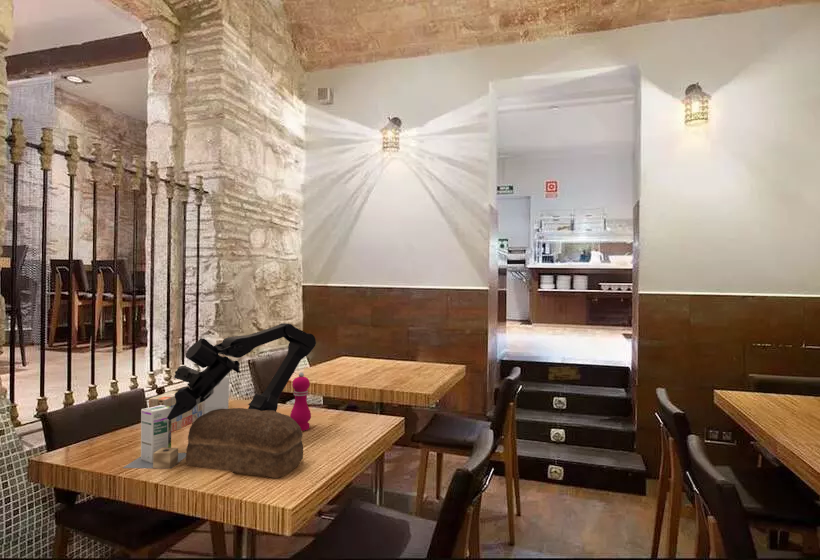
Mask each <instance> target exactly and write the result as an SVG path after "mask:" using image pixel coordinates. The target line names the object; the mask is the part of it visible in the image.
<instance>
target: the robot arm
mask: <svg viewBox="0 0 820 560" xmlns="http://www.w3.org/2000/svg"><path fill="white" fill-rule="evenodd" d="M283 338H284V339H285V340H286V341H288V342H289V343H288V347H287V348H288V349H287V354H286V356H285V358H284V359H283V361H282V362H281V363H280V366H279V368H278V369H277V370H276V372H275V374H274V375H273V377H272V379H271V380H270V382H269V384H268V385H267V386H266V389H265V390H264V391H263V392H262V393H261V394H259V393H255V394H254V396H253V397H252V400H250V402H249V403H248V404H247V405H248V408H247V409H257V410H260V411H265V410H273V411H276V412H277V411H278V410H277V409H278V406H279V404H278V403H279V398H280V397H281V394H282V393H283V392H284V389H285V388H286V386H287V384H288V383H289V381H290V380H291V377H292V376H293V374H294V372H295V370H296V369H297V367H298V365H300V362H301V361H302V360H303V359H304V358H306V357H307V356H308V355H310V354H311V352H312V351H313V350H314V349H315V346H317V345H316V344H317V341H316V337H315V335H314V334H312V333H307V332H306V331H304V330H302V329H300V328H298V327H295V326H294V325H293V324H291V323H288V322H287V323H285V322H282V323H279V324H278V325H274V326H272V327H268V328H265V329H263V330H259V331H257V332H254V333H251V334H246V335H244V334H243V335H235V336H229V337H225V338H224V339H223V340H222V342H219V343H218V344H214V345H213V344H211V343H210V342H209V341H208V340H207V339H206V338H204V337H203V338H202V337H200V338H199V340H198V341H196V342H195V343H193V344H192V345H191V346H189V348H188V349H187V350H186V352H185V358H186V359H187V360H189V361H190V362H192V363H194V364H195V365H197V366H198V367H200V368H202V369H203V370H201V371H199V370H196V369H194V368H192V367H188V366H186V365H180V366H178V368H177V370H176V371H175V372H174V373H175V374H174V376H173V378H174V379H176V380H180V381H182V382H186V383H187V386H183V387H181V388H179V389H178V390H176V391H177V392H176V393H175V394H174V395H175V399H176V403H175V405H174V407H173V409H172V410H171V412H170V413H169V415H168V417H167V419H169V420H171V419H173V418H175V417H177V416H179V415H182V414H184V413H186V412H188V411H190V410H192V409H193V408H194V407H195V406H197V405H198V404H199V403H201V402H203V401H205V400H206V399H208V398H209V397H210V396H211V395H212V394H213V393H214V388H215V387H216V386H217V385H219V384H220V382H221V381H222V380H223V379H224V377H225V376H226V375H227V376H228V375H229V374H230V372H231V371H234V372H236V373H240V365H241V364H240V361H239V360H232V359H231V358H236V359H240V358H242V357H245V356H246V355H248V354H250V353H251V352H252V351H253V350H254V349H255V348H257V347H260V346H263V345H267V344H268V343H271V342H274V341H277V340H280V339H283ZM222 355H224V356H222ZM229 357H231V358H229Z"/></svg>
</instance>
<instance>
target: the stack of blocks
mask: <svg viewBox="0 0 820 560" xmlns="http://www.w3.org/2000/svg"><path fill="white" fill-rule="evenodd" d="M177 391H178V390H171V391H168V392H165V393H162V394H159V395H156V396H153V397H151V398H149V399H148V408H150V407H155V406H159V405H165V406H169V407H171V410H172V409H173V407H174V405H175V403H176V399H175V395H174V394H175V393H176V392H177ZM202 415H203V414H202V402H201V403H199V404H198V405H197V406H195V407H194V408H193V409H192V410H190V411H188V412H186V413H184V414H182V415H179V416H177V417H175V418H173V419H171V433H174V432H176V431H177V430H180V429H182V428H183V427H186V426H188V425H191V424H193V423H194V422H195V420H196V419H197V418H198V417H200V416H202Z"/></svg>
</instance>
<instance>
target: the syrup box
mask: <svg viewBox="0 0 820 560" xmlns="http://www.w3.org/2000/svg"><path fill="white" fill-rule="evenodd" d="M170 412H171V407H169V406H165V405H159V406H155V407H150V408H149V407H146V408H141V410H140V413H141V414H140V426H141V427H140V457H141V459H142V460H144V461H147V462H150V463H153V453H155V452H156V451H158V450H159V449H161V448H172V432H171V420H169V419H167V417H168V415H169V413H170Z"/></svg>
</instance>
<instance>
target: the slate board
mask: <svg viewBox="0 0 820 560" xmlns="http://www.w3.org/2000/svg"><path fill="white" fill-rule="evenodd" d="M184 459H186V452H178V463H176V464H175V465H174V466H172V467H171V468H157V469H159V470H160V469H161V470H162V469H167V470H168V469H169V470H171V469H173V468H174V467H175V466H176V465H178V464H179V463H180V462H182V461H183V460H184ZM122 469H154V468H153V463H150V462H147V461H144V460H142V459H141V456H139V457H137V458H136V459H134V460H132V461H131V462H129V463H127V464H126V465H124V466H123V467H122Z"/></svg>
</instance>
